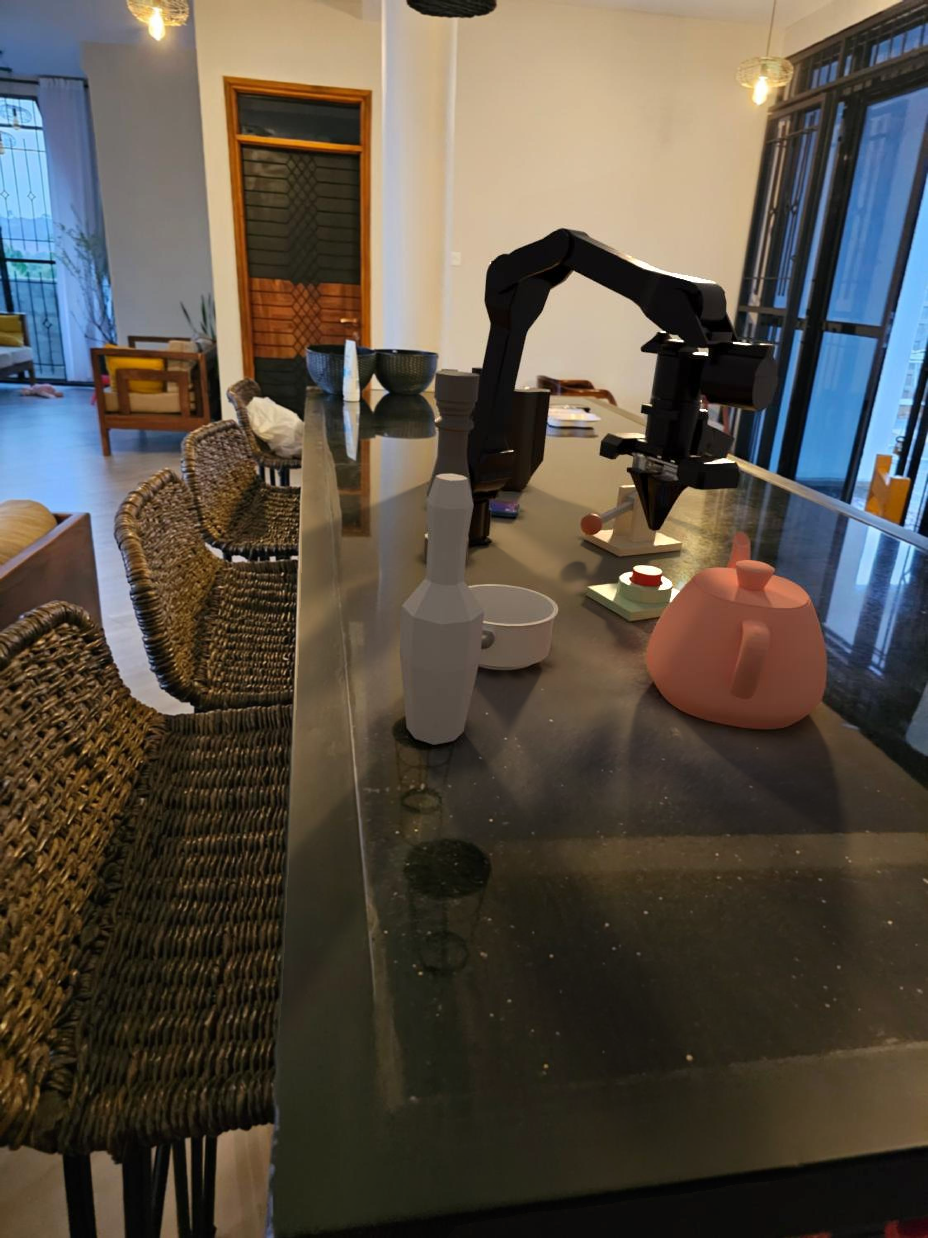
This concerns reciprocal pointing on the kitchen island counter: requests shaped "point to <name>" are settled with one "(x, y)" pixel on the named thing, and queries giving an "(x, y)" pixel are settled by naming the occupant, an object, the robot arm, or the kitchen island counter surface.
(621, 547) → the switch bracket
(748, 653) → the teapot
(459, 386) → the candle holder
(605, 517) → the switch lever
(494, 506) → the smartphone
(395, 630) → the kitchen island counter surface
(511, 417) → the brown vase set
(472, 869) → the kitchen island counter surface
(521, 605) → the saucepan
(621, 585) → the button housing
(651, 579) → the button
